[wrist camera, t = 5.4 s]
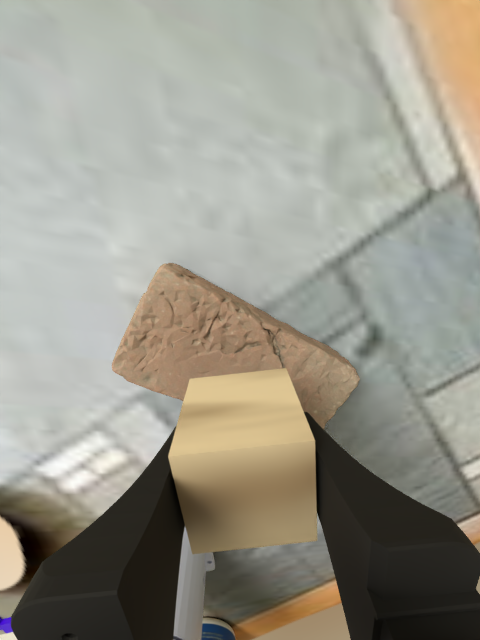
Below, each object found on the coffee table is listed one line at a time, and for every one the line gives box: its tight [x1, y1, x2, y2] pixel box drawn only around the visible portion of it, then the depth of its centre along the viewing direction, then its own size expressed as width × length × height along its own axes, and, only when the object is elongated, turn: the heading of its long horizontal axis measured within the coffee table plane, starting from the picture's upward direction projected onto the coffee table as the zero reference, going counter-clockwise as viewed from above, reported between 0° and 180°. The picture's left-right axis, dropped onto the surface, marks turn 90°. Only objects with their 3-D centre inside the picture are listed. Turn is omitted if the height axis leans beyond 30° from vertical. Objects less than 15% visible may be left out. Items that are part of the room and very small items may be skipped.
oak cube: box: [168, 368, 317, 554], centre depth 12 cm, size 5×5×5 cm
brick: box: [112, 263, 360, 430], centre depth 20 cm, size 17×8×5 cm, turn 60°
